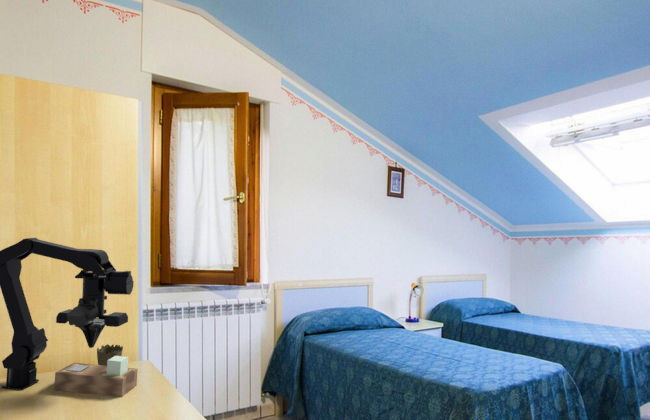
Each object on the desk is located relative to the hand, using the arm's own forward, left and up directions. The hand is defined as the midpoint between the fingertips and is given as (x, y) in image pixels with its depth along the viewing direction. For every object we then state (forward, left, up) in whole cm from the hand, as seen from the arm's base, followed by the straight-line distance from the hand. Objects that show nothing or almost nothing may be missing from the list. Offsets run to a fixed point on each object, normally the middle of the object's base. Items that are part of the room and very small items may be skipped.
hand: (91, 347), depth 127 cm
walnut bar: (+2, 0, -12) cm, 12 cm away
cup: (-1, +11, -12) cm, 16 cm away
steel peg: (-4, 0, -11) cm, 12 cm away
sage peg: (+8, 0, -7) cm, 11 cm away
